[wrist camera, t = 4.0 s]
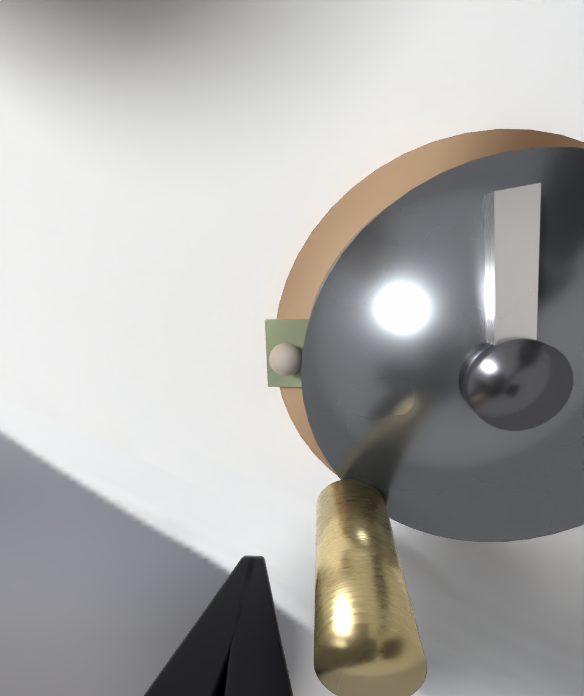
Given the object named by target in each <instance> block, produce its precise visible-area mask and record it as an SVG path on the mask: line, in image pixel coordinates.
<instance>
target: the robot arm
mask: <svg viewBox="0 0 584 696" xmlns="http://www.w3.org/2000/svg"><path fill="white" fill-rule="evenodd" d="M144 696H293V692H292V688H291V683H290V679H289V673H288V669H287V664H286V659H285V654H284V649H283V645H282V640H281V635H280V630H279V626H278V621H277V616H276V611H275V606H274V601H273V597H272V592H271V587H270V582H269V578H268V573H267V568H266V563H265V559H264V557H263V556H244V557H242V558H241V560H240V561H239V563H238V564H237V565H236V567H235V568H234V570H233V571H232V572H231V574H230V575H229V577H228V578H227V580H226V581H225V582H224V584H223V585H222V587H221V588H220V589H219V591H218V592H217V594H216V595H215V596H214V598H213V599H212V601H211V602H210V603H209V605H208V606H207V608H206V609H205V610H204V612H203V613H202V615H201V616H200V618H199V619H198V620H197V622H196V623H195V624H194V626H193V627H192V629H191V630H190V631H189V633H188V634H187V636H186V637H185V639H184V640H183V642H182V643H181V644H180V646H179V647H178V648H177V650H176V651H175V653H174V654H173V655H172V657H171V658H170V660H169V661H168V662H167V664H166V665H165V667H164V668H163V670H162V671H161V672H160V674H159V675H158V676H157V678H156V679H155V681H154V682H153V683H152V685H151V686H150V688H149V689H148V690H147V692H146V693H145V695H144Z"/></svg>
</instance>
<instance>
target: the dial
mask: <svg viewBox="0 0 584 696" xmlns="http://www.w3.org/2000/svg"><path fill="white" fill-rule="evenodd" d="M301 382H302V392H303V402H304V406H305V410H306V414H307V418H308V422H309V425H310V427H311V430H312V433H313V435H314V438H315V440H316V443H317V445H318V446H319V448H320V450H321V452H322V453H323V455H324V457H325V459H326V460H327V462H328V463H329V465H330V466H331V467H332V469H333V470H334V471H335V473H336V474H337V475H338V477H339V478H340V479H341V480H340V481H336V482H334V483H332V484H330V485H329V486H327V487H326V488H325V489H324V490H323V491H322V492H321V494H320V496H319V498H318V501H317V521H316V575H315V629H314V668H315V672H316V674H317V677H318V678H319V680H320V681H321V683H322V684H323V685H324V686H325V687H326V688H327V689H328V690H329V691H331V692H332V693H334V694H336V695H337V696H411V695H412V694H414V693H415V692H416V691H417V690H418V689H419V688H420V687H421V685H422V684H423V682H424V680H425V678H426V673H427V666H426V661H425V657H424V653H423V649H422V645H421V641H420V637H419V633H418V629H417V625H416V622H415V618H414V614H413V610H412V606H411V602H410V598H409V594H408V590H407V587H406V583H405V579H404V575H403V571H402V567H401V563H400V559H399V555H398V552H397V548H396V544H395V540H394V536H393V532H392V528H391V524H390V520H389V518H391V519H393V520H395V521H398V522H400V523H402V524H404V525H407V526H409V527H411V528H414V529H417V530H420V531H423V532H426V533H430V534H433V535H437V536H442V537H447V538H452V539H457V540H468V541H479V542H504V541H514V540H524V539H531V538H536V537H541V536H546V535H551V534H555V533H559V532H562V531H565V530H568V529H572V528H575V527H578V526H581V525H583V524H584V149H583V148H577V147H535V148H527V149H520V150H512V151H505V152H501V153H497V154H494V155H490V156H486V157H482V158H479V159H475V160H472V161H469V162H467V163H464V164H462V165H459V166H457V167H454V168H452V169H449V170H447V171H445V172H442V173H440V174H438V175H436V176H435V177H433V178H431V179H429V180H427V181H426V182H424V183H422V184H420V185H418V186H417V187H415V188H413V189H411V190H410V191H409V192H407V193H406V194H404V195H403V196H402V197H400V198H399V199H398V200H396V201H395V202H394V203H392V204H391V205H389V206H388V207H387V208H385V209H384V210H383V211H381V212H380V213H378V214H377V215H376V216H374V217H373V218H372V219H371V220H370V221H369V222H368V223H367V224H366V225H365V226H364V227H363V228H362V229H361V230H359V231H358V232H357V233H356V234H355V235H354V237H353V238H352V239H351V240H350V241H349V243H348V244H347V245H346V246H345V247H344V249H343V250H342V251H341V252H340V253H339V255H338V256H337V258H336V259H335V261H334V263H333V264H332V266H331V267H330V269H329V270H328V272H327V274H326V275H325V277H324V279H323V282H322V284H321V286H320V288H319V290H318V292H317V294H316V297H315V300H314V303H313V306H312V309H311V312H310V315H309V319H308V324H307V329H306V334H305V340H304V346H303V351H302V367H301Z"/></svg>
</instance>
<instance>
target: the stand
mask: <svg viewBox="0 0 584 696" xmlns="http://www.w3.org/2000/svg"><path fill="white" fill-rule="evenodd" d="M535 147H577V148H583V149H584V142H581V141H578V140H575V139H572V138H569V137H566V136H563V135H559V134H553V133H547V132H541V131H535V130H519V129H495V130H487V131H479V132H471V133H464V134H461V135H457V136H453V137H449V138H445V139H442V140H438V141H434V142H432V143H429V144H427V145H424V146H422V147H420V148H417V149H415V150H412V151H410V152H407V153H405V154H403V155H401V156H400V157H398V158H396V159H394V160H393V161H391V162H389V163H387V164H386V165H384V166H382V167H380V168H379V169H377V170H376V171H374V172H373V173H372V174H370V175H369V176H368V177H366V178H365V179H364V180H362V181H361V182H360V183H358V184H357V185H355V186H354V187H353V188H352V189H351V190H350V191H349V192H348V193H346V194H345V195H344V196H343V197H342V198H341V199H340V200H339V201H338V202H337V203H336V204H335V205H334V206H333V207H332V208H331V209H330V210H329V211H328V213H327V214H326V215H325V216H324V218H323V219H322V220H321V221H320V223H319V224H318V225H317V226H316V228H315V229H314V230H313V231H312V233H311V235H310V236H309V238H308V239H307V241H306V243H305V244H304V246H303V248H302V249H301V251H300V252H299V254H298V256H297V258H296V260H295V262H294V265H293V267H292V269H291V271H290V273H289V276H288V278H287V280H286V284H285V287H284V290H283V293H282V297H281V300H280V303H279V308H278V314H277V319H266V320H265V329H266V351H267V373H268V387H280V390H281V394H282V398H283V400H284V403H285V405H286V408H287V410H288V413H289V416H290V418H291V420H292V421H293V423H294V425H295V427H296V429H297V430H298V432H299V434H300V436H301V437H302V438H303V440H304V441H305V442H306V444H307V445H308V446H309V448H310V449H311V450H312V452H313V453H314V454H315V455H316V456H317V457H318V458H319V459H320V460H321V461H322V462H323V463H324V464H325V465H326V466H327V467H328V468H329V469H330V470H331V471H333V472H334V473H335V471H334V470H333V469H332V467H331V466H330V465H329V463H328V462H327V460H326V459H325V457H324V455H323V453H322V452H321V450H320V448H319V446H318V445H317V443H316V440H315V438H314V435H313V433H312V430H311V427H310V425H309V422H308V418H307V414H306V410H305V406H304V402H303V392H302V382H301V367H302V351H303V346H304V340H305V334H306V329H307V324H308V319H309V315H310V312H311V309H312V306H313V303H314V300H315V297H316V294H317V292H318V290H319V288H320V286H321V284H322V282H323V279H324V277H325V275H326V274H327V272H328V270H329V269H330V267H331V266H332V264H333V263H334V261H335V259H336V258H337V256H338V255H339V253H340V252H341V251H342V250H343V249H344V247H345V246H346V245H347V244H348V243H349V241H350V240H351V239H352V238H353V237H354V235H355V234H356V233H357V232H358V231H359V230H361V229H362V228H363V227H364V226H365V225H366V224H367V223H368V222H369V221H370V220H371V219H372V218H373V217H374V216H376V215H377V214H378V213H380V212H381V211H383V210H384V209H385V208H387V207H388V206H389V205H391V204H392V203H394V202H395V201H396V200H398V199H399V198H400V197H402V196H403V195H404V194H406V193H407V192H409V191H410V190H411V189H413V188H415V187H417V186H418V185H420V184H422V183H424V182H426V181H427V180H429V179H431V178H433V177H435V176H436V175H438V174H440V173H442V172H445V171H447V170H449V169H452V168H454V167H457V166H459V165H462V164H464V163H467V162H469V161H472V160H475V159H479V158H482V157H486V156H490V155H494V154H497V153H501V152H505V151H512V150H520V149H527V148H535ZM335 474H336V473H335ZM336 475H337V474H336Z"/></svg>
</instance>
